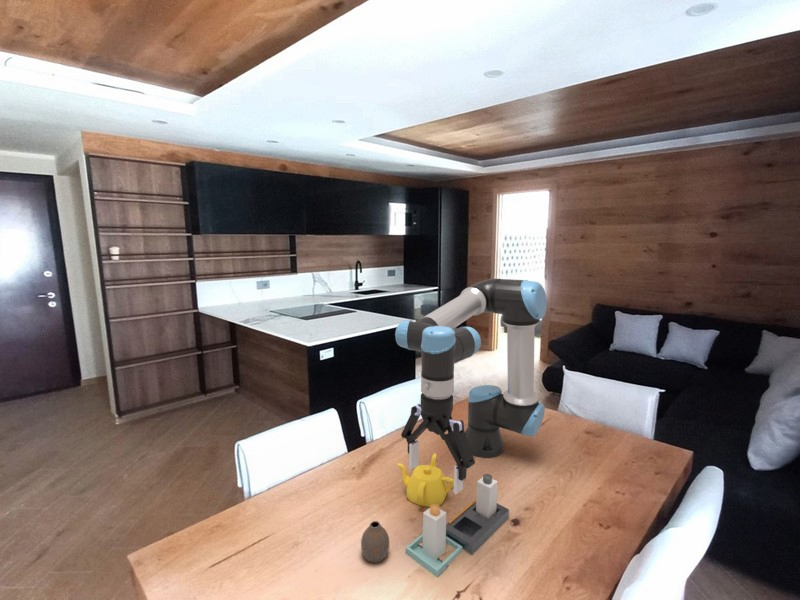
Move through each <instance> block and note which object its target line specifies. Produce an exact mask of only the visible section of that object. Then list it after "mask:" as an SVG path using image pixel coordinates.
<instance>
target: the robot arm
mask: <svg viewBox="0 0 800 600" xmlns="http://www.w3.org/2000/svg"><path fill="white" fill-rule="evenodd" d="M546 294H547V293H546V291H545V288H544V286H543V285H542V284H541V283H540V282H539V281H532V280H527V279H511V278H509V279H507V278H489V279H485V280H482V281H479V282H477V283H474V284H472V285H470V286H468V287H466V288H464V289H463V290H462V291H461V293H460V294H459V295H458V296H457V297H455V298H453V299H452V300H449V301H448V302H447V303H445V304H443V305H441V306H439V307H438V308H436V309H434V310H433V311H431V312H430V313H428V314H426V315H425V316H423V317H421V318H419V319H418V320H416V321H415V320H414V321H413V320H402V321H400V322H399V323H398V325H397V326H396V328H395V333H394V336H395V341H396V344H397V346H399V347H401V348H404V349H406V350H409V351H416V352H421V373H420V374H421V375H420V383H421V384H420V392H421V393H420V403H418V404H416V405H413V406H412V407H411V408H410V416H409V417H408V419H407V422H406V423H405V426H404V428H403V429H402V432H401V435H400V436H401V438H402V439H405V440H406V443H407V453H408V460H409V461H408V469H409V470H414V469H415V468H416V467H417V466H419V460H420V458H419V457H420V456H419V454H420V450H419V449H420V445H419V444H420V441H419V440H418V439H419V437H420V436H421V435H422V434H423V433H424V432H426V430H428V432H431V433H434V434H436V435H437V436H439V437H440V438H441V440H443V441H444V443H445V444H446V446H447V448H448V450H449V452H450V453H451V456H452V458H453V460H454V461H455V463H456V464H455V465H454V466H453V479H454V486H453V491H452V492H453V493H454V494H455V495H457V494H458V493H460V492H461V491H462V490H464V480H465V479H466V478H467V471H468V470H467V469H469V468H471V467H472V466H474V465H475V463H476V460H475V457H481V458H495V457H497V456H500V455H501V454H502V453H503V452H504V444H505V443H504V441H503V436H502V433H501V429H503V430H507V431H511V432H514V433H518V434H520V435H523V436H528V437H534V436H535V435H536V434H538V432H539V430H540V428H541V426H542V423H543V420H544V416H545V412H546V411H545V405H544V404H543V403H542V402H539V395H538V394H537V393H536V392H535V327H536V326H537V325H538V324H540V320H541V319H543V318H544V317H545V316H546V311H547V307H548V306H547V305H548V303H547V302H548V301H547V295H546ZM483 313H484V314H485V313H490V314H497V315H498V314H499V315H501V317H502V319H501V321H502V323H503V324H504V325H505V326H506V328H507V329H506V333H507V334H506V337H507V339H506V342H507V345H506V346H507V349H506V350H507V357H506V358H507V390H505V391H504V392H503V391H502V388H501V387H499V386H496V385H492V384H490V385H489V384H484V385H483V384H481V385H477V386H474V387H473V388H471V389H470V390H469V392H468V399H467V404H468V405H467V408H468V409H467V427H466V429H465V423H464V421H463V420H461V419H460V420H453V416H452V414H453V409H454V395H453V394H454V392H455V391H454V385H455V383H454V382H455V381H454V380H455V374H454V373H455V364H457V363H459V362H461V361H463V360H466V359H469V358H471V357H472V356H474V354H477V352H478V351H480V348H481V344H482V339H481V336H480V334H479V332H478V331H477V330H476V329H475V328H473V327H472V326H471V327H470V326H460V327H458V326H459V325H461V324H462V323H464V322H465V321H467V320H469V319H470V318H471V317H472V316H479V315H481V314H483ZM502 392H503V393H502ZM420 416H421V418H422V421H421V423H420V424H419V425H418V426H417V427H416V428H415V426H416V424H417V423H418V421H419V419H420ZM500 428H501V429H500ZM414 429H415V430H414ZM446 432H447V433H446ZM474 456H475V457H474Z"/></svg>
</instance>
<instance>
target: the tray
mask: <svg viewBox="0 0 800 600" xmlns="http://www.w3.org/2000/svg"><path fill="white" fill-rule="evenodd" d="M421 542H423V533H421V534H420V535H419V536H418V537H417V538H415V539H414V540H412V542H410V543H409V544H408V545H406V546H405V550H404V553H405V554H406V555H407V556H408V557H409V558H411V559H412V560H414V561H415V562H416V563H418V564H419V565H420V566H422V567H423V568H424V569H425V570H427V572H429V573H430V574H431V575H434V577H436V578H438V577H440V575H442V573H444V571H446V569H448V568H449V566H450V565H449V564H450V563H452V562H453V560H455V558H456V557H457V556H459V555H460V554H461V553H462V552H463V550H464V549H463V547H462V546H461V545H459V544H458V543H456V542H454V541H453V540H451V539H450V538H448V537H447V536H446V544H448V545H449V546H450V547H453V548H454V549H455V550H454V551H452V552H451V553H450V554H449V556H447V557H446V558H445V559H444V560H442V559H440V558H439V559H438V560H437V561H436V562H434V561H433V560H431V559H430V558H429V557H427V556H426V555H425V554H423V545H421V544H420V543H421Z"/></svg>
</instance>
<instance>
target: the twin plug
mask: <svg viewBox="0 0 800 600" xmlns="http://www.w3.org/2000/svg"><path fill="white" fill-rule="evenodd" d="M498 483H499V482H498V481H497V480H495V479H493V475H492V474H489V473H484V474H483V475H482V477H481V478H480V479H478V480H477V481H476V498H475V499H476V512H477V513H479V514H480V515H482V516H484V517H486V518H487V519H489V520H490V519H491V518H492V517H493V516H494V515H495V514H496V508H497V503H498Z"/></svg>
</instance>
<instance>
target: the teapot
mask: <svg viewBox="0 0 800 600" xmlns="http://www.w3.org/2000/svg"><path fill="white" fill-rule="evenodd" d="M396 465H397V466H398V467H399V468H400V471H401V479H402V480H401V481H402V484H403V485H404V486H405V488H406V491H405V492H406V497H407V499H408V501H409V502H411V503H413V504H415V505H418V506H420V507H426V508H430V505H431V504H438V505H439V506H440V507H441V505H442V504H443V503H444V501H445V499H446V498H447V495H448V493H449V491H450V490H452V489H453V488H454V477H450V476H445V475H444V473H443V471H442V469H441V468H438V467H437V453H433V454H432V456H431V460H430V463H429V464H420V465H418V466H417V467H415V468H414V469H413V471H412V473H411V475H410V476H409V475H408V473H407V467H406V466H405V465H404V464H402V463H400V462H396ZM447 482H448V484H447Z"/></svg>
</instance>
